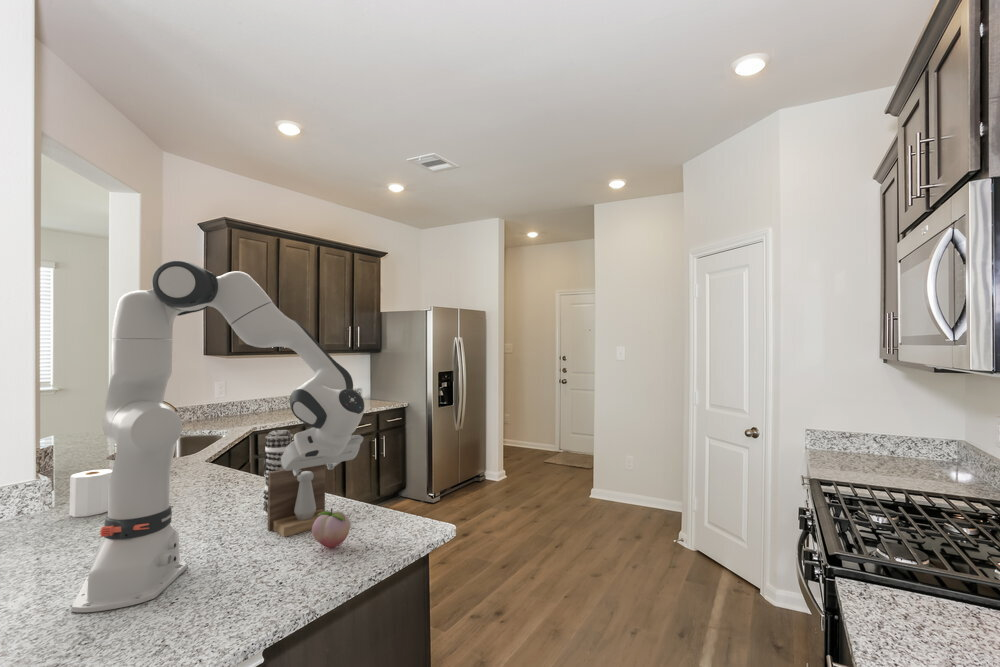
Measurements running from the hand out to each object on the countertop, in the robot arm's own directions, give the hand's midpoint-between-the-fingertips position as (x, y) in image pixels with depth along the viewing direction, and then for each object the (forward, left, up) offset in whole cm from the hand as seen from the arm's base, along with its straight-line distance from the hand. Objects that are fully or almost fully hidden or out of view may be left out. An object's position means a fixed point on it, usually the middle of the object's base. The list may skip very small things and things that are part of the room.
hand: (313, 470), depth 132 cm
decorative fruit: (-13, -5, -17) cm, 22 cm away
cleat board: (+6, +3, -17) cm, 18 cm away
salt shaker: (+5, +2, -15) cm, 16 cm away
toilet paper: (+44, +65, -17) cm, 81 cm away
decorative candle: (+22, +10, -17) cm, 30 cm away
